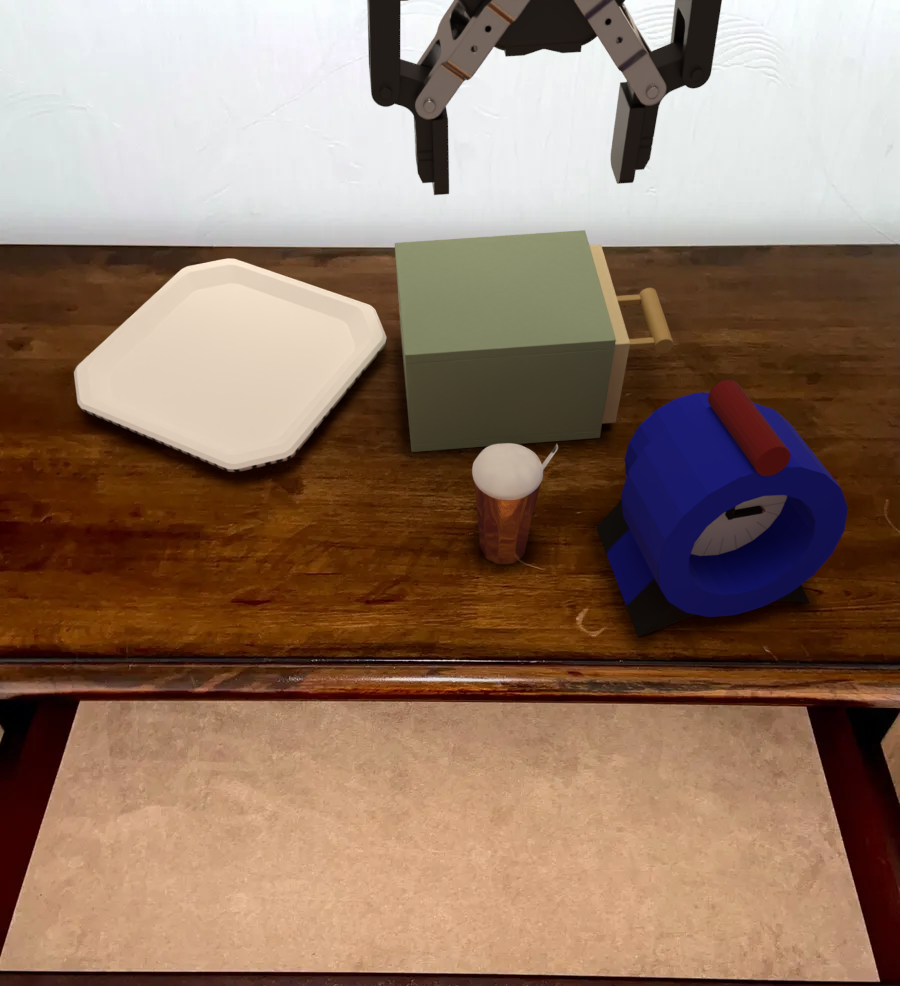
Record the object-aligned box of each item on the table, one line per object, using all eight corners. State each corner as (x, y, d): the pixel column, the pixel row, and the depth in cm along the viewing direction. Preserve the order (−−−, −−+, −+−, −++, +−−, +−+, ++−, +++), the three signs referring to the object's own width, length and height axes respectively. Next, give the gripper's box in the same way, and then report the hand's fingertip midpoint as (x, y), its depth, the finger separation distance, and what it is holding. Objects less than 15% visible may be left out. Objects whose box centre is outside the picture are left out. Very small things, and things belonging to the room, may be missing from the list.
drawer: (639, 321, 79) (655, 240, 73) (669, 419, 73) (689, 338, 66) (429, 336, 79) (426, 255, 72) (441, 436, 72) (438, 356, 66)
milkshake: (550, 569, 66) (563, 473, 58) (474, 575, 66) (476, 479, 58) (542, 519, 69) (552, 420, 60) (468, 524, 68) (469, 425, 60)
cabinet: (573, 330, 80) (585, 229, 72) (599, 438, 73) (616, 339, 65) (401, 342, 80) (394, 242, 72) (411, 452, 72) (404, 354, 65)
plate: (55, 412, 75) (45, 391, 74) (208, 267, 86) (203, 245, 84) (271, 502, 70) (266, 482, 68) (407, 336, 80) (406, 314, 78)
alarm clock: (641, 645, 62) (684, 496, 50) (587, 505, 69) (614, 344, 57) (814, 612, 64) (898, 459, 51) (745, 478, 71) (805, 315, 58)
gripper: (343, -236, 28) (383, 239, 42) (809, -258, 29) (700, 217, 42) (338, -307, 33) (375, 145, 46) (744, -325, 33) (664, 127, 47)
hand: (531, 179), depth 44 cm, fingers open, 8 cm apart
